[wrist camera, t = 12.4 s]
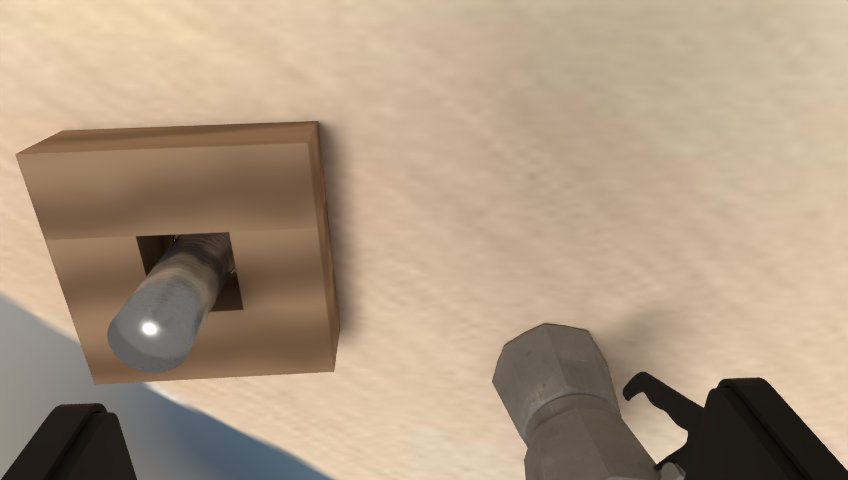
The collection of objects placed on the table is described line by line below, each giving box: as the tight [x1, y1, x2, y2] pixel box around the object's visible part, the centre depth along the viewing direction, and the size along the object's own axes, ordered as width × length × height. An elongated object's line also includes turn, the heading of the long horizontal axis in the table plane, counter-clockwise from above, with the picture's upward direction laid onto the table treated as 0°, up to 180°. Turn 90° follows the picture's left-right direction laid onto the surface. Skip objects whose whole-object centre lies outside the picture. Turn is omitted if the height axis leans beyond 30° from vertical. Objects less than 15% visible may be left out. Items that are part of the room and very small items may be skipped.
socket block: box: [15, 121, 340, 385], centre depth 38 cm, size 16×16×5 cm
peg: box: [107, 232, 235, 373], centre depth 34 cm, size 4×4×12 cm
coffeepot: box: [492, 324, 704, 480], centre depth 38 cm, size 15×9×18 cm, turn 145°
